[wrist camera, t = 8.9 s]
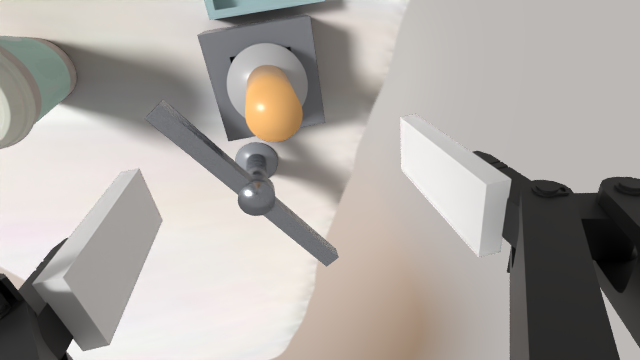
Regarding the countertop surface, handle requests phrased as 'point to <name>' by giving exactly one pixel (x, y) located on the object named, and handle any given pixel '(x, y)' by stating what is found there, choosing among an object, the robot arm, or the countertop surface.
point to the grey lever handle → (241, 180)
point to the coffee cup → (30, 84)
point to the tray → (248, 6)
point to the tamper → (268, 90)
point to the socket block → (232, 40)
